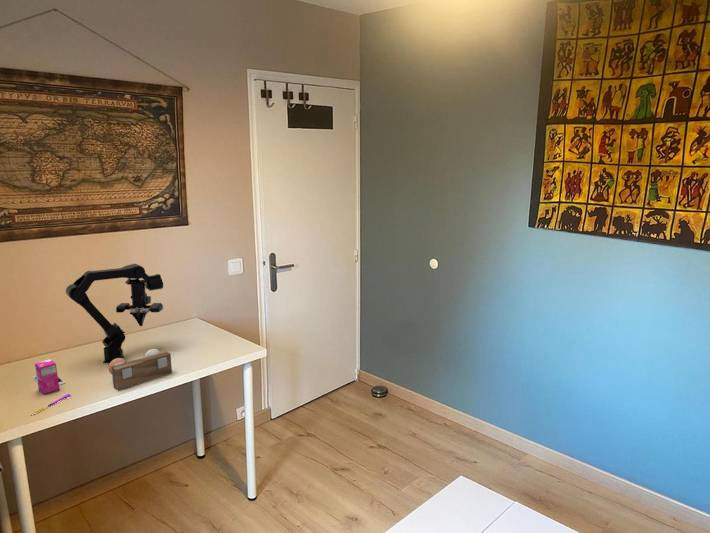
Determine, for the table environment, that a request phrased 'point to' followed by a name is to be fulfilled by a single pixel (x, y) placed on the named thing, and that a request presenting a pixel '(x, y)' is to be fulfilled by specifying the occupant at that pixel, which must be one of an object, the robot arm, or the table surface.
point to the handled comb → (55, 402)
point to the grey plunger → (160, 362)
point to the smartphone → (58, 380)
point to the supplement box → (47, 376)
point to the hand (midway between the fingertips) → (141, 325)
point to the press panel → (141, 371)
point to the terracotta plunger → (125, 372)
